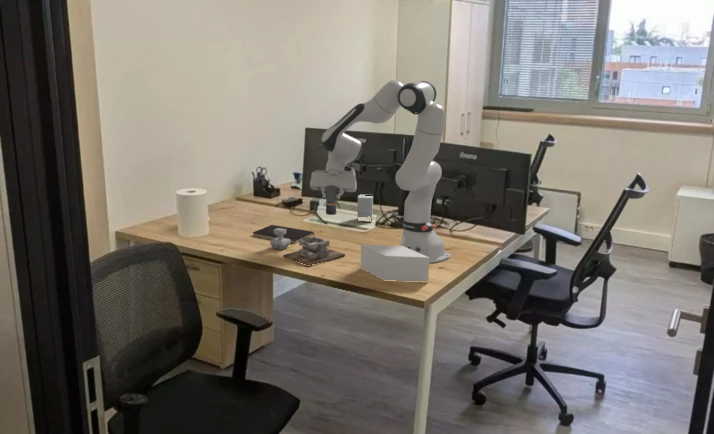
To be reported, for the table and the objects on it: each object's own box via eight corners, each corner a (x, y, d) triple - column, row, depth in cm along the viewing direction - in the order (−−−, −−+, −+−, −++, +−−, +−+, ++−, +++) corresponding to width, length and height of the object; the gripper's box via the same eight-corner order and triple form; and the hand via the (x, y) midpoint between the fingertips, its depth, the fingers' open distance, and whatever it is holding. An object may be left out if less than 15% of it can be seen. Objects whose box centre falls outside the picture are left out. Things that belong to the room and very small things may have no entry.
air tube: (338, 213, 285) (339, 186, 282) (331, 215, 281) (331, 188, 278) (330, 211, 288) (331, 184, 285) (323, 213, 284) (323, 186, 281)
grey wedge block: (420, 289, 241) (421, 262, 238) (351, 274, 254) (351, 249, 252) (435, 277, 253) (437, 252, 250) (369, 264, 267) (370, 239, 264)
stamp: (281, 252, 279) (281, 233, 277) (268, 249, 281) (268, 230, 279) (292, 246, 287) (292, 227, 285) (279, 244, 289) (279, 225, 287)
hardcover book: (295, 245, 291) (295, 239, 290) (252, 237, 301) (252, 232, 300) (314, 236, 304) (314, 231, 304) (272, 229, 314) (272, 224, 314)
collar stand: (345, 256, 275) (345, 240, 273) (308, 266, 261) (308, 250, 259) (319, 247, 286) (319, 232, 284) (283, 257, 272) (283, 241, 270)
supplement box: (372, 219, 334) (373, 194, 331) (371, 222, 327) (372, 198, 323) (358, 218, 335) (358, 194, 331) (356, 222, 327) (357, 197, 324)
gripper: (311, 166, 288) (306, 193, 281) (357, 168, 285) (353, 195, 278) (313, 174, 293) (308, 200, 286) (358, 176, 290) (354, 203, 283)
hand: (330, 198), depth 282 cm, fingers closed on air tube, 4 cm apart
